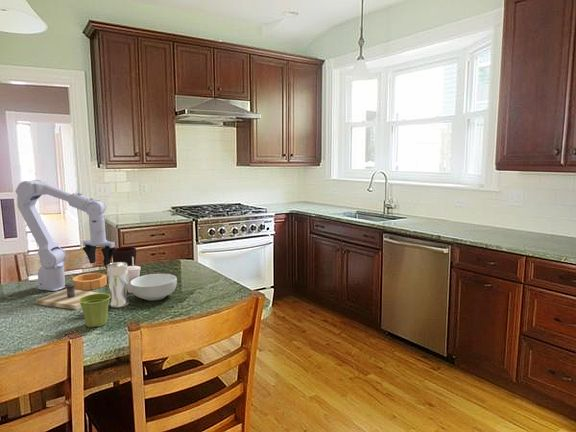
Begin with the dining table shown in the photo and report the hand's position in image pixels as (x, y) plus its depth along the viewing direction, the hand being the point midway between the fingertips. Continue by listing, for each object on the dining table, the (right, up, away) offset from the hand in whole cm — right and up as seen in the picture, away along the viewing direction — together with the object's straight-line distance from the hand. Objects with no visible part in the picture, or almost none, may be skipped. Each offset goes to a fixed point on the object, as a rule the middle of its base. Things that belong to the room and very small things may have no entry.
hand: (100, 263), depth 174 cm
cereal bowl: (+26, -12, -11) cm, 30 cm away
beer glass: (+15, -13, -19) cm, 28 cm away
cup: (+2, -8, +16) cm, 18 cm away
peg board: (-4, -12, -15) cm, 20 cm away
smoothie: (+15, -11, -4) cm, 19 cm away
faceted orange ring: (-6, -9, +3) cm, 11 cm away
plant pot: (+15, -15, -37) cm, 42 cm away
